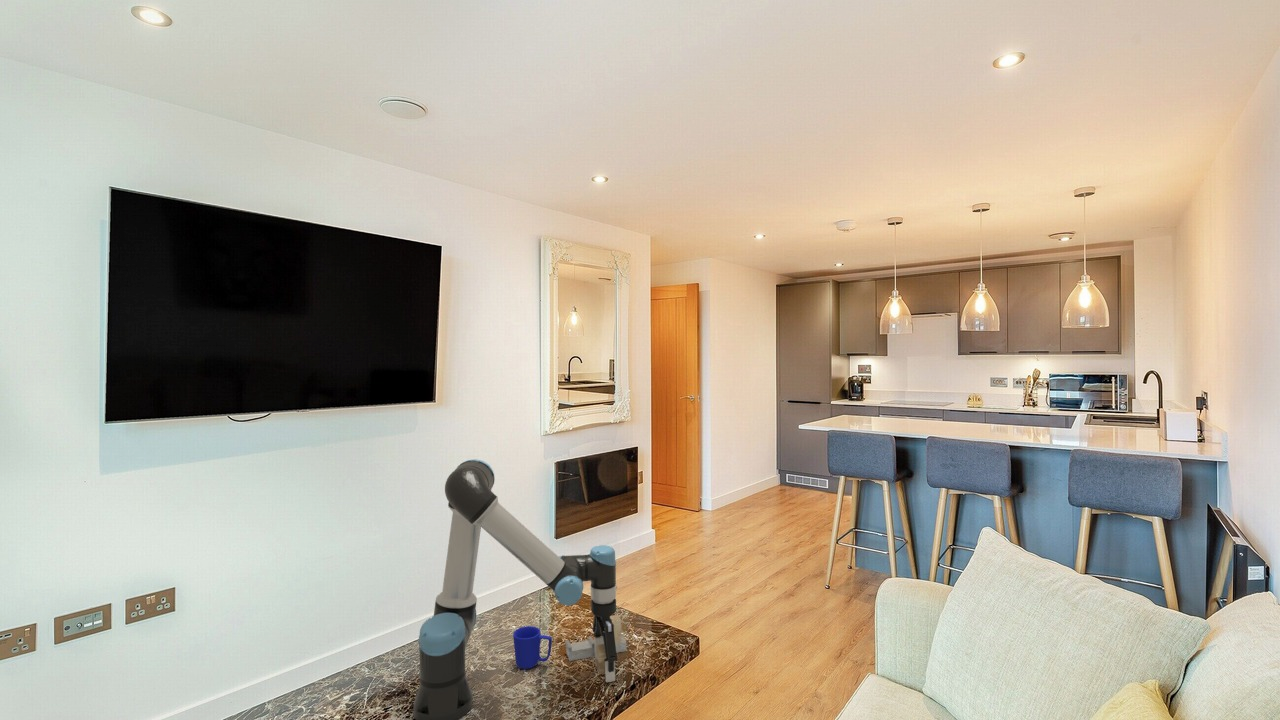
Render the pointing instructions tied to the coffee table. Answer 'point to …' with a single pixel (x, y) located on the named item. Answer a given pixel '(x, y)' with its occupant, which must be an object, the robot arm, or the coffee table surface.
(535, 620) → the coffee table surface
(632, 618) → the coffee table surface
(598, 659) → the tan cardboard carton
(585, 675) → the coffee table surface
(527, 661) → the mug
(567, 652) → the rail
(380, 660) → the coffee table surface
